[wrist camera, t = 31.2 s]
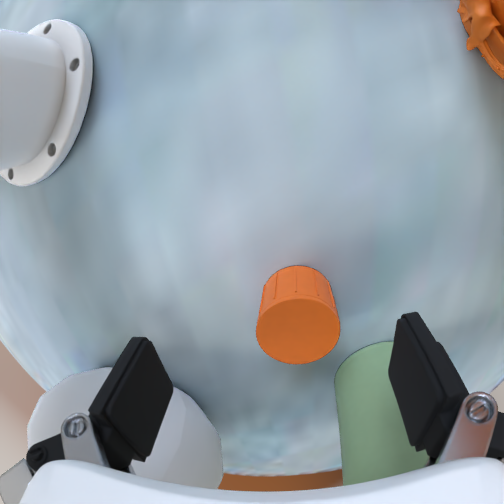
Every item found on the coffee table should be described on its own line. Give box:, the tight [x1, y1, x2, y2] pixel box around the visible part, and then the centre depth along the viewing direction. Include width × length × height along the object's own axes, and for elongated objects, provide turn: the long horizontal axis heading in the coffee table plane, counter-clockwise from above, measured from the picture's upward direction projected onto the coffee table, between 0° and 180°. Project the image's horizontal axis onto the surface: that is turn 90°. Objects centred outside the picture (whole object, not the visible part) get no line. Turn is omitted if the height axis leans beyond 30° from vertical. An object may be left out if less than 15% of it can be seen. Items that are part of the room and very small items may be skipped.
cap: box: [256, 266, 340, 364], centre depth 14 cm, size 4×4×4 cm
